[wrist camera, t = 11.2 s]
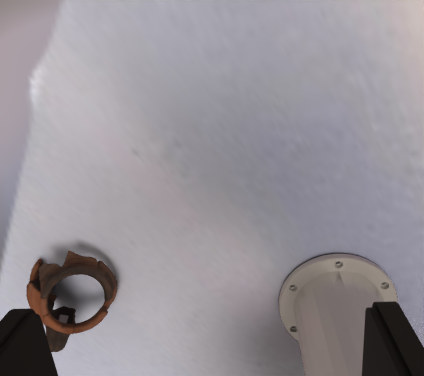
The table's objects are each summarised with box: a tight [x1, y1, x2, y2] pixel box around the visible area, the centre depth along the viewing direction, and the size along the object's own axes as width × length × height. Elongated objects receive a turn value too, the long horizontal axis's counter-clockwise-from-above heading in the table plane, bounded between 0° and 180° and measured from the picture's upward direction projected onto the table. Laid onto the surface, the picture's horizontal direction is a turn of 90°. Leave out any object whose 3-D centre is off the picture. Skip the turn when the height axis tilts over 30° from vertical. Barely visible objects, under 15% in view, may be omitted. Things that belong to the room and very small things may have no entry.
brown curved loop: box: [27, 251, 117, 352], centre depth 43 cm, size 12×10×8 cm
